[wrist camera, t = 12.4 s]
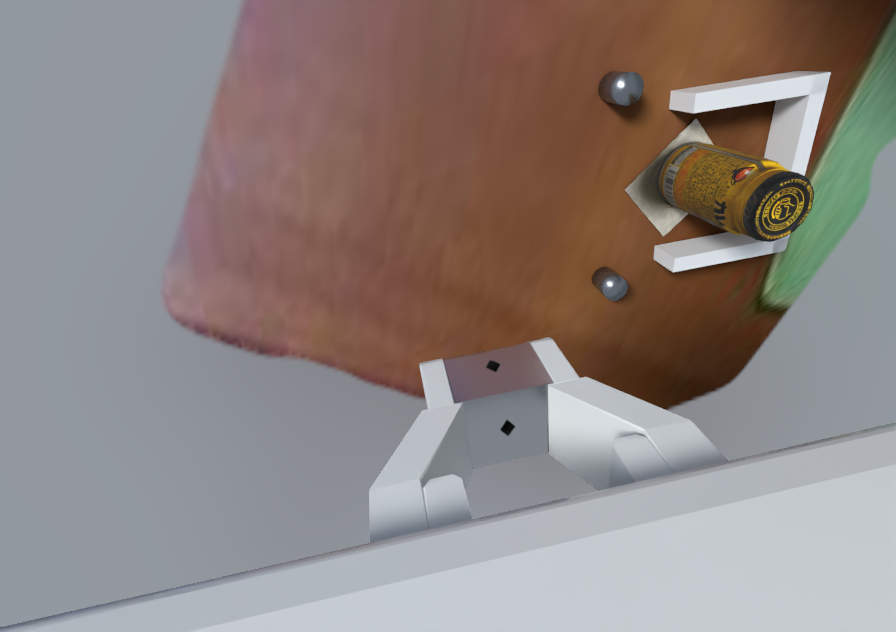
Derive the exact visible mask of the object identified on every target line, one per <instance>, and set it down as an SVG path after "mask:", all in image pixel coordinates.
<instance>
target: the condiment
mask: <svg viewBox="0 0 896 632" xmlns="http://www.w3.org/2000/svg"><path fill="white" fill-rule="evenodd" d="M655 173H656V174H655ZM625 191H626V192H627V193H628V195H629V196H630V197H631V198H632V200H633V201H634V202H635V203H636V204H637V206H638V207H639V208H640V209H641V211H642V212H643V213H644V214H645V215H646V217H647V218H648V219H649V220H650V221H651V222H652V223H653V225H654V226H655V227H656V228H657V229H658V230H659V232H660V233H661V234H662V235H663V236H665V235H666V234H667V233H668V232H669V231H670V230H671V229H672V228H673V227H674V226H675V225H676V224H678V223H679V222H680V221H681V220H682V219H683V218H684V217H685V216H686V215H688V214H690V215H693V216H696V217H698V218H700V219H702V220H704V221H706V222H708V223H710V224H712V225H714V226H717V227H719V228H721V229H723V230H725V231H727V232H730V233H732V234H737V235H746V236H749V237H752V238H754V239H755V240H760V241H766V242H773V241H775V240H778V239H781V238H783V237H786V236H788V235H789V234H791V233H792V232H793V231H795V230H796V229H797V228H798V227H799V226H800V225H801V223H803V221H804V220H805V218H806V217H807V215H808V213H809V212H810V210H811V208H812V204H813V199H814V191H813V188H812V186H811V183H810V181H809V180H808V179H807V178H806V177H805V176H803V175H802V174H799V173H796V172H791V171H789V170H787V169H785V168H784V167H783V166H782V165H780V164H779V163H778V162H775V161H772V160H769V159H767V158H762V157H760V156H756V155H749V154H745V153H743V152H738V151H735V150H731V149H728V148H724V147H719V146H715V145H713V143H712V142H711V140H710V139H709V137H708V136H707V134H706V132H705V131H704V129H703V128H702V126H701V124H700V123H699V121H698V120H697V119H695V120H694V121H693V122H692V123H691V124H690V125H689V126H688V127H687V128H686V129H685V130H684V131H682V132H681V133H680V134H679V135H678V137H677V138H676V139H674V140H673V141H672V142H671V143H670V144H669V145H668V146H667V148H665V149H664V150H663V151H662V152H661V154H660V155H659V156H657V158H656V159H655V160H654V161H653V162H652V163H651V164H650V165H649V166H648V167H647V168H646V169H645V170H644V171H643V172H642V173H640V175H639V176H638V177H637V178H636V179H635V180H634V181H633V182H632V183H631V184H630V185H629V186H628V187H627V188H626V189H625ZM670 206H673V207H671V208H670ZM666 207H669V208H667V209H666Z"/></svg>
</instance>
